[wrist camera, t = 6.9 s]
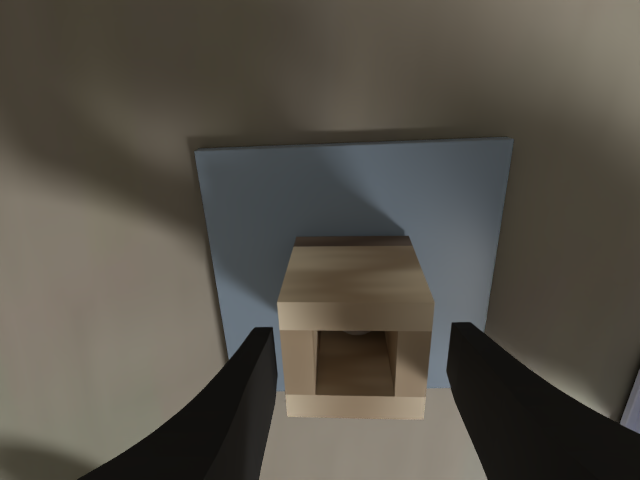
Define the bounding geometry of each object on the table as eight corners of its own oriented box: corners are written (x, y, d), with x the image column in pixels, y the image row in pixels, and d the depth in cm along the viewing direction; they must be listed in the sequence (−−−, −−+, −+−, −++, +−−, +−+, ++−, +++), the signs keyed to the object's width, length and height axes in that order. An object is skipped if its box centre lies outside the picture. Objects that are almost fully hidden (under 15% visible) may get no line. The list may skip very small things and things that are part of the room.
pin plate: (507, 136, 15) (549, 151, 12) (471, 378, 20) (495, 430, 17) (198, 148, 15) (170, 165, 12) (236, 383, 20) (222, 434, 17)
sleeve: (408, 235, 16) (435, 302, 11) (402, 329, 18) (423, 419, 13) (296, 236, 16) (276, 302, 12) (302, 328, 18) (287, 416, 13)
